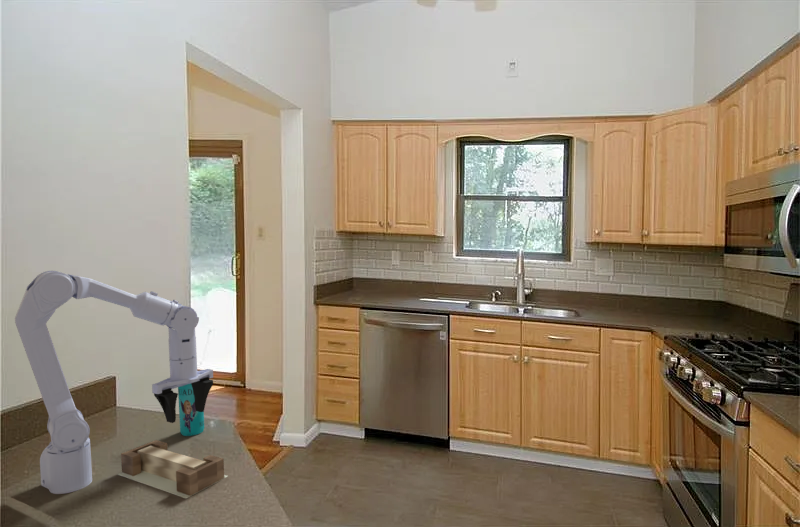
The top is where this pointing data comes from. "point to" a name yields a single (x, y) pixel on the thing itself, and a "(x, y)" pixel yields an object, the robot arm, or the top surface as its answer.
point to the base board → (157, 482)
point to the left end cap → (137, 458)
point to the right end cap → (200, 476)
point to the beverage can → (189, 412)
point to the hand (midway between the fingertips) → (185, 416)
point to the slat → (166, 462)
